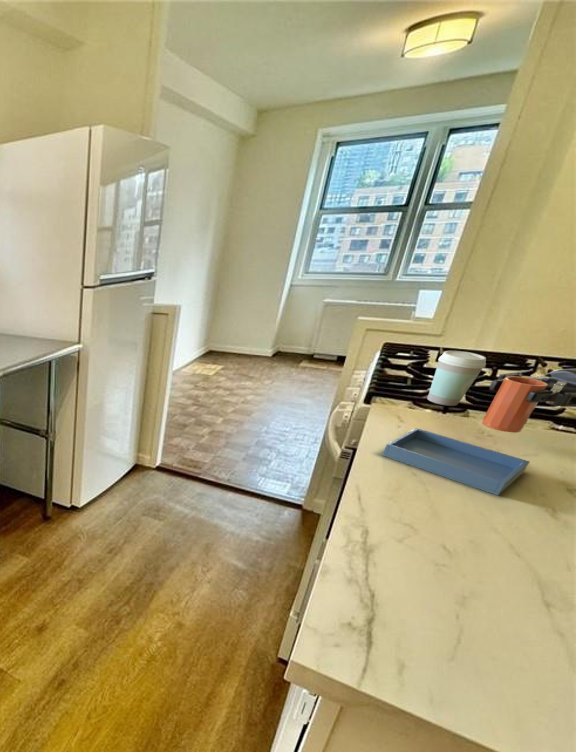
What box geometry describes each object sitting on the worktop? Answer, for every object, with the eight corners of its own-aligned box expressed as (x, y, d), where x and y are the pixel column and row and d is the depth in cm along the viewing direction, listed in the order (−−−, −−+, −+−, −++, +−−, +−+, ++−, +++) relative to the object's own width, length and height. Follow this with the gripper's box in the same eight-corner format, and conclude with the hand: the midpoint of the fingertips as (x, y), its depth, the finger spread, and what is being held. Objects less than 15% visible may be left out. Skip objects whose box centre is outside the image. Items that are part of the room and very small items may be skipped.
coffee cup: (459, 410, 116) (484, 362, 110) (415, 400, 122) (436, 353, 116) (469, 403, 120) (493, 356, 115) (426, 392, 126) (447, 348, 121)
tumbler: (524, 428, 100) (551, 382, 95) (516, 435, 97) (543, 388, 92) (487, 418, 104) (510, 374, 99) (477, 424, 101) (501, 379, 97)
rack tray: (522, 473, 90) (530, 461, 89) (497, 495, 83) (505, 483, 82) (411, 438, 103) (416, 427, 101) (381, 455, 96) (386, 444, 95)
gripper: (546, 358, 103) (481, 362, 101) (637, 380, 91) (566, 385, 88) (527, 391, 107) (464, 395, 104) (613, 417, 94) (543, 422, 92)
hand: (511, 391), depth 96 cm, fingers closed on tumbler, 6 cm apart
